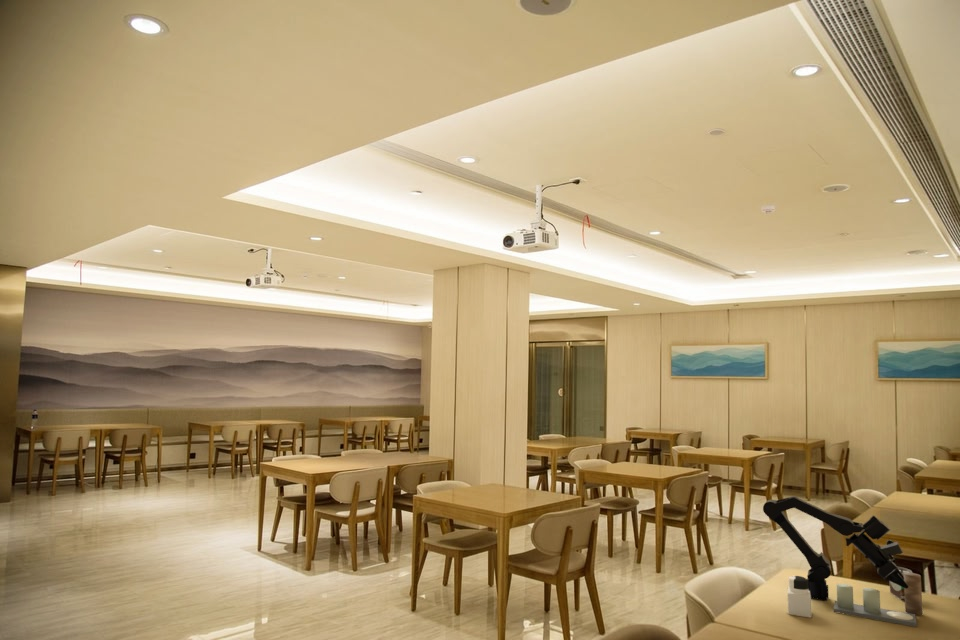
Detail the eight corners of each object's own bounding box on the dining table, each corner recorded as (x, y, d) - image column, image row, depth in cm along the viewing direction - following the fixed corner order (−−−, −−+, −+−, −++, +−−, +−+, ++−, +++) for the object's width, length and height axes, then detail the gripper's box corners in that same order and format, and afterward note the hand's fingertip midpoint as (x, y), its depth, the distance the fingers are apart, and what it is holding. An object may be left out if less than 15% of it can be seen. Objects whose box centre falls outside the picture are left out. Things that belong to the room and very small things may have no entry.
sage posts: (837, 607, 223) (836, 586, 224) (837, 603, 227) (836, 582, 228) (880, 614, 216) (879, 593, 217) (880, 610, 220) (879, 589, 221)
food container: (921, 603, 233) (920, 575, 234) (902, 601, 234) (901, 573, 235) (906, 592, 245) (904, 566, 246) (888, 591, 246) (887, 564, 247)
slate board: (833, 612, 221) (833, 607, 221) (834, 604, 230) (834, 600, 230) (916, 626, 209) (916, 622, 209) (915, 617, 217) (914, 613, 217)
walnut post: (905, 613, 221) (903, 575, 223) (905, 609, 226) (903, 571, 227) (923, 616, 219) (921, 577, 220) (922, 612, 223) (920, 574, 224)
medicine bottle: (810, 611, 221) (809, 576, 222) (811, 618, 215) (810, 581, 216) (787, 608, 224) (786, 573, 225) (788, 614, 218) (787, 578, 219)
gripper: (887, 538, 220) (928, 576, 214) (884, 529, 236) (922, 563, 230) (862, 559, 223) (901, 597, 217) (860, 547, 239) (897, 582, 233)
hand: (906, 584), depth 224 cm, fingers open, 9 cm apart
